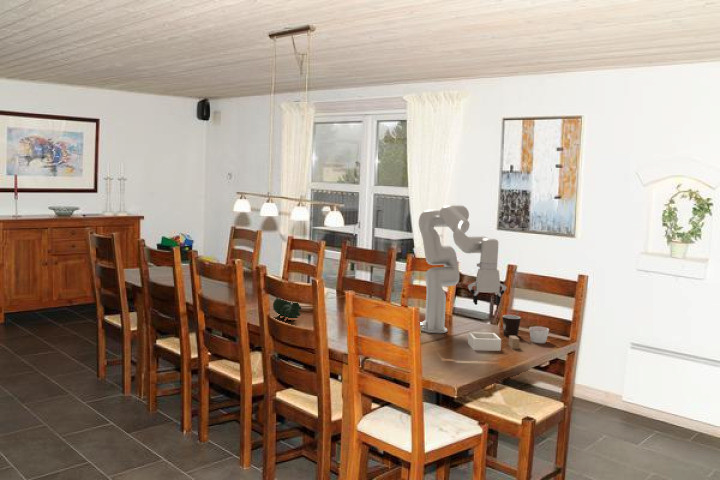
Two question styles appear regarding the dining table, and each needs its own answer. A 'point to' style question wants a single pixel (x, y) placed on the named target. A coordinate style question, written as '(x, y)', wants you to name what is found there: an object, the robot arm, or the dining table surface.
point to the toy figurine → (286, 308)
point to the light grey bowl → (538, 334)
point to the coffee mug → (511, 325)
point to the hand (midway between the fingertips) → (486, 304)
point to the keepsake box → (484, 341)
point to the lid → (514, 342)
